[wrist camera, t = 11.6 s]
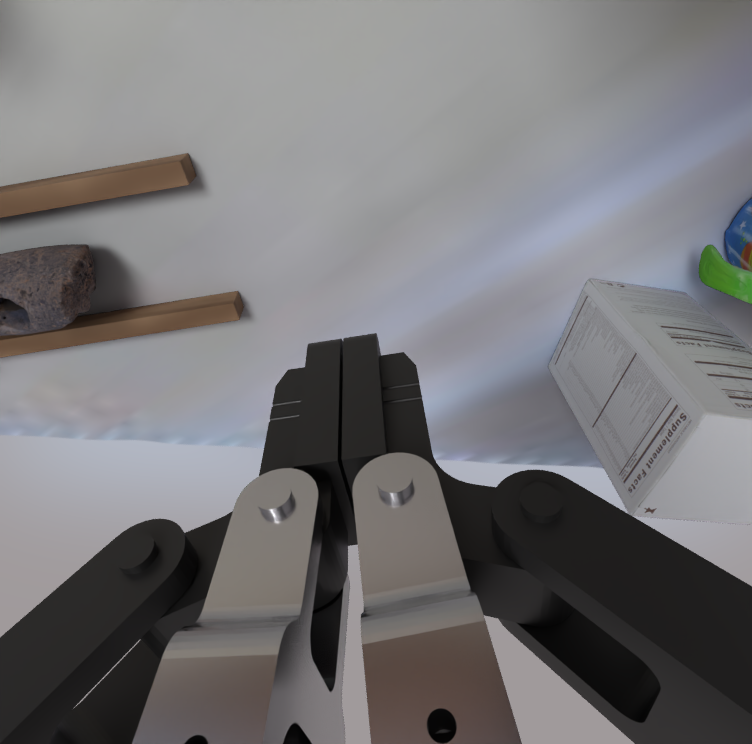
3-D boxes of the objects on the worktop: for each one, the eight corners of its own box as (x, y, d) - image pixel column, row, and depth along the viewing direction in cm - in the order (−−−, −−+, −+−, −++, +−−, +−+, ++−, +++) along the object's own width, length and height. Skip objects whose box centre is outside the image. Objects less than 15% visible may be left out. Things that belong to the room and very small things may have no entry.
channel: (-157, 214, 35) (-201, 233, 32) (187, 153, 33) (173, 167, 30) (-43, 352, 42) (-71, 378, 39) (243, 307, 40) (236, 330, 38)
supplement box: (635, 378, 47) (750, 530, 34) (544, 368, 46) (626, 522, 32) (689, 289, 41) (854, 429, 28) (587, 274, 40) (708, 414, 27)
